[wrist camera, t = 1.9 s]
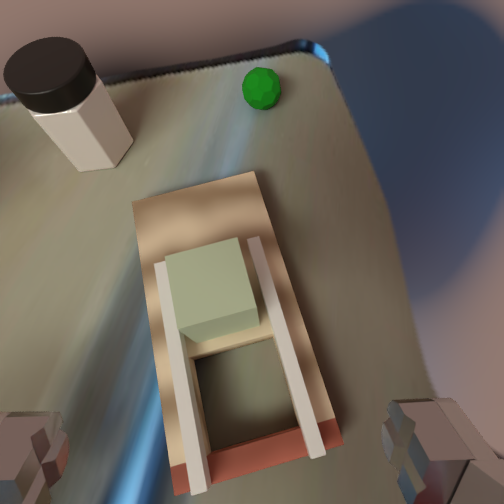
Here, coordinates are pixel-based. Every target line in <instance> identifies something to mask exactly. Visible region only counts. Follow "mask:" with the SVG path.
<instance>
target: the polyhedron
mask: <svg viewBox="0 0 504 504" xmlns="http://www.w3.org/2000/svg"><path fill="white" fill-rule="evenodd" d="M242 90H243V95H244V99H245V100H246V102H247V103H248V104H249V105H250V106H251V107H253V108H255V109H261V110H267V109H269V108H270V107H272V106H274V105H275V103H276V102H277V101H278V99H279V97H280V94H281V87H280V81H279V77H278V75H277V74H276V73H275V72H274V71H273V70H272V69H267V68H260V67H256V68H254V69H253V70H251V71H250V72H249V73H248V74H247V75H246V76H245V78H244V81H243V84H242Z"/></svg>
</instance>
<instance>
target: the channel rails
mask: <svg viewBox="0 0 504 504" xmlns="http://www.w3.org/2000/svg"><path fill="white" fill-rule="evenodd" d="M247 242H248V248H249V252H250V255H251V258H252V262H253V265H254V269H255V272H256V276H257V279H258V283H259V286H260V289H261V293H262V296H263V300H264V303H265V307H266V310H267V314H268V317H269V320H270V324H271V327H272V331H273V334H274V338H275V341H276V345H277V348H278V352H279V355H280V358H281V362H282V365H283V369H284V372H285V376H286V379H287V383H288V386H289V389H290V393H291V396H292V400H293V403H294V407H295V410H296V414H297V417H298V420H299V424H300V427H301V431H302V434H303V438H304V441H305V445H306V448H307V452H308V455H309V457H310V458H311V459H314V458H317V457H320V456H323V455H326V451H325V448H324V445H323V442H322V438H321V435H320V432H319V429H318V425H317V422H316V419H315V416H314V413H313V409H312V406H311V403H310V400H309V396H308V393H307V390H306V387H305V383H304V380H303V377H302V374H301V370H300V367H299V364H298V361H297V357H296V354H295V351H294V348H293V345H292V341H291V338H290V335H289V332H288V328H287V325H286V322H285V319H284V315H283V312H282V309H281V306H280V302H279V299H278V296H277V293H276V289H275V286H274V283H273V280H272V277H271V273H270V270H269V267H268V264H267V260H266V257H265V254H264V251H263V247H262V244H261V241H260V238H259V236H257V237H253V238H249V239H247ZM154 268H155V274H156V280H157V286H158V292H159V299H160V305H161V311H162V317H163V323H164V330H165V336H166V342H167V348H168V354H169V361H170V367H171V373H172V379H173V385H174V392H175V398H176V404H177V410H178V416H179V422H180V429H181V435H182V441H183V447H184V453H185V460H186V466H187V472H188V478H189V484H190V491H191V496H192V495H196V494H199V493H202V492H205V491H208V489H209V488H210V486H211V485H212V484H211V478H210V473H209V467H208V462H207V457H206V451H205V446H204V440H203V435H202V429H201V424H200V418H199V413H198V408H197V402H196V397H195V391H194V386H193V380H192V375H191V369H190V364H189V359H188V353H187V348H186V342H185V337H184V334H183V333H182V332H181V331H179V330H178V329H177V324H176V318H175V312H174V307H173V301H172V295H171V290H170V284H169V278H168V273H167V267H166V262H165V261H162V262H159V263H155V264H154Z"/></svg>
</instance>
